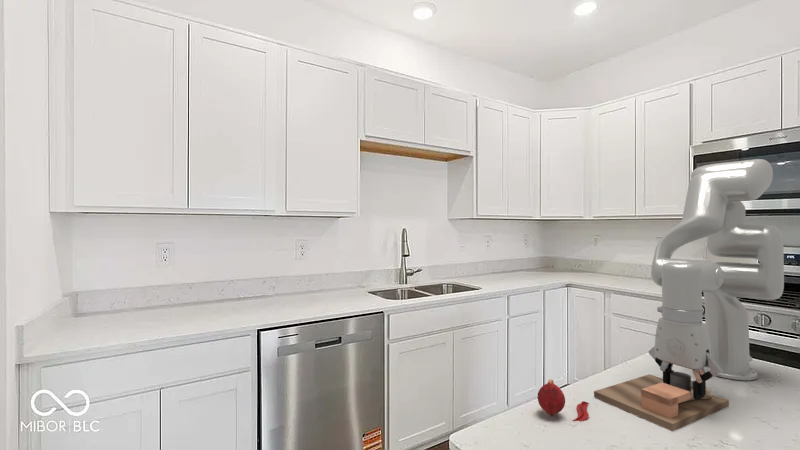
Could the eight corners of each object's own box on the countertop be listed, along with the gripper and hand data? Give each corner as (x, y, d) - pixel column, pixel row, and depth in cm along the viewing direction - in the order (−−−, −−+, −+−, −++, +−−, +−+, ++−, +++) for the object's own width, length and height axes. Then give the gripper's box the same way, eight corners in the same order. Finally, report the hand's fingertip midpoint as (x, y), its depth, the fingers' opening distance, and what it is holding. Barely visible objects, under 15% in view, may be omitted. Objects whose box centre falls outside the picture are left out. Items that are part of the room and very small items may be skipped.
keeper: (662, 399, 90) (661, 382, 90) (691, 409, 85) (690, 391, 85) (641, 406, 86) (641, 389, 86) (670, 418, 81) (669, 399, 81)
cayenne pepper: (580, 427, 82) (579, 418, 82) (559, 419, 85) (559, 410, 85) (604, 409, 89) (604, 401, 89) (584, 402, 93) (584, 394, 93)
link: (695, 388, 95) (694, 366, 95) (717, 397, 90) (716, 373, 90) (651, 397, 90) (651, 374, 90) (672, 407, 85) (672, 382, 86)
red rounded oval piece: (568, 423, 83) (567, 386, 83) (540, 420, 84) (539, 384, 84) (562, 410, 88) (561, 375, 88) (536, 408, 90) (535, 374, 90)
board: (649, 379, 105) (649, 363, 105) (729, 406, 89) (728, 386, 89) (594, 397, 95) (593, 378, 95) (672, 431, 79) (672, 408, 79)
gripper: (635, 310, 95) (637, 382, 95) (716, 325, 80) (719, 412, 80) (653, 307, 99) (655, 377, 99) (735, 321, 83) (737, 404, 83)
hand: (683, 392), depth 89 cm, fingers open, 5 cm apart
